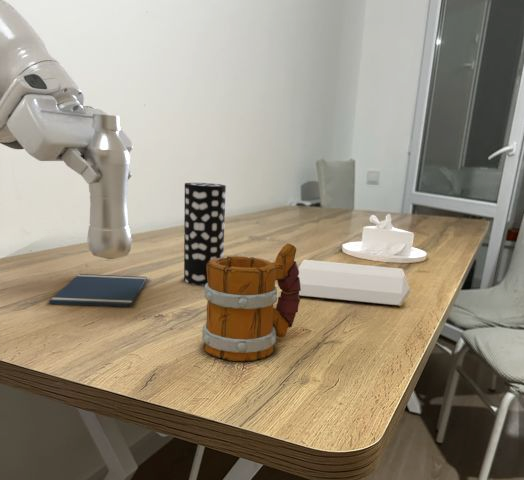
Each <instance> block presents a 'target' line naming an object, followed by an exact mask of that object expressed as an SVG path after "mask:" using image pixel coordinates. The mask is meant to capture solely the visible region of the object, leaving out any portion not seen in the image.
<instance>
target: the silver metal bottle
mask: <svg viewBox="0 0 524 480" xmlns="http://www.w3.org/2000/svg"><path fill="white" fill-rule="evenodd" d="M92 128H94V129H95V132H94V134H93V136H92V137H91V139H90V140H89V143H88V146H87V147H86V148H85V152H84V159H85V161H86V162H87V163H88V164H90V165H91V166H95V167H96V169H97V170H98V172H100V174H101V179H100V180H98V182H97V183H92V184H88V190H89V191H88V193H89V201H90V202H89V225H88V230H87V240H86V241H87V246H88V250H89V252H90V253H91V254H92V255H93V256H94V257H98V258H103V259H108V260H113V259H119V258H124V257H127V256H128V255H129V253H130V252H131V248H132V243H133V240H132V235H131V228H130V226H129V216H128V197H127V195H128V181H129V180H128V173H129V171H130V164H131V156H130V152H128V150H127V148H126V146H125V144H124V143H123V141H122V140H121V138H120V137H119V134H118V130H120V128H121V126H120V116H119V115H113V114H112V115H109V114H108V115H101V114H93V125H92Z"/></svg>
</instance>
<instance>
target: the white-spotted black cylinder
mask: <svg viewBox="0 0 524 480" xmlns="http://www.w3.org/2000/svg"><path fill="white" fill-rule="evenodd" d="M226 190H227V185H225V184H220V183H209V182H185V183H184V210H183V211H184V215H183V216H184V220H183V222H184V223H183V224H184V225H183V226H184V227H183V228H184V229H183V230H184V234H183V236H184V238H183V239H184V241H183V247H184V249H183V250H184V252H183V281H184V282H186V283H187V284H189V285H193V286H204V287H205V284H206V283H208V280H207V269H206V264H207V263H208V261H210V260H212V259H216V258H223V257H224V253H225V252H224V251H225V250H224V247H225V222H226V221H225V219H226V193H227V191H226Z"/></svg>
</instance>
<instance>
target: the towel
mask: <svg viewBox="0 0 524 480" xmlns="http://www.w3.org/2000/svg"><path fill="white" fill-rule="evenodd" d="M147 280H148V278H147V276H137V275H136V276H135V275H115V274H114V275H112V274H93V273H92V274H89V273H87V274H86V273H78V275H77V276H76V277H74V278H73V279H72V280H71V281H70V282H68V284H66V285H65V286H64V287H63V288H62V289H61V290H60V291H59V292H57V293H56V294H54V296H53V297H52V298H51V299H49V301H48V303H49V305H66V306H67V305H69V306H70V305H71V306H72V305H73V306H93V307H95V306H96V307H121V308H126V307H127V308H130V307H131V306H132V305H133V304H134V302H135V300H136V298H137V296H138V295H139V293H140V292H141V290H142V288H143V286H144V284H145V283H146V282H147Z"/></svg>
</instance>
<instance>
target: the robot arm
mask: <svg viewBox="0 0 524 480" xmlns="http://www.w3.org/2000/svg"><path fill="white" fill-rule="evenodd" d="M84 101H85V95H84V92H83V91H82V90H81V88H80V87H79V86H78V85H77V83H76V82H75V80H74V79H73V78H72V76H71V75H70V74H69V73H68V72H67V70H66V69H65V68H64V66H63V65H62V64H61V62H59V61H58V60H57V59H55V58H54V57H53V56H52V55H51V54H50V53H49V51H48V49H47V46H46V44H45V43H44V41H43V40H42V38H41V37H40V35H39V34H38V33H37V32H36V31H35V29H34V28H33V27H32V25H31V24H30V23H29V22H28V21H27V20H26V19H25V18H24V17H23V15H21V13H20V12H19V11H18V10H17V9H16V8H15V7H13V6H12V5H11V4H10V3H9V2H7V1H6V0H0V144H1V145H3V146H6V147H8V148H9V149H12V150H24V151H25V152H26V153H27V154H28V155H29V156H31V157H33V158H34V159H35V160H37V161H39V162H63V163H65V165H66V166H67V167H68V168H70V169H71V170H72V171H74V172H76V174H78V175H80V176H81V177H82V178H83V180H84V181H85V183H86V184H88V185H89V184H92V183H97V182H98V180H100V179H101V174H100V172H98V170H97V169H96V167H95V166H91V165H90V164H88V163H87V162H86V161H85V159H84V152H85V148H86V147H87V146H88V143H89V140H90V139H91V137H92V136H93V134H94V132H95V129H94V128H92V125H93V114H101V115H109V114H108V113H106V112H105V111H104V110H101V109H99V108H94V107H92V106H90V105H84V103H85V102H84ZM118 134H119V137H120V138H121V140H122V141H123V143H124V144H125V146H126V148H127V150H128V152H129V153H131V151H132V150H133V148H134V146H133V142H132V140H131V139H130V138H129V136H128V135H127V134H126V132H124V131H123V129H122V128H121V127H120V130H118ZM131 177H132V172H131V171H130V170H129V173H128V181H129V180H130V179H131Z"/></svg>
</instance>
